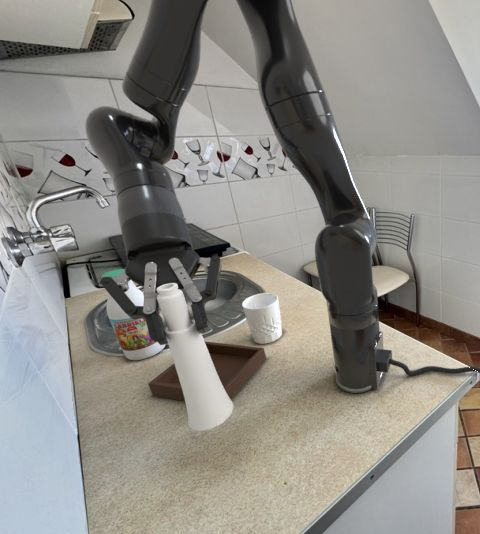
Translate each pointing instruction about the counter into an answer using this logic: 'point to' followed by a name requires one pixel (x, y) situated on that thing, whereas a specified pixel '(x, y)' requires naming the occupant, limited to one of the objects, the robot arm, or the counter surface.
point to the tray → (227, 367)
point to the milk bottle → (131, 324)
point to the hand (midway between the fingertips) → (182, 336)
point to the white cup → (263, 317)
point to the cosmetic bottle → (193, 363)
